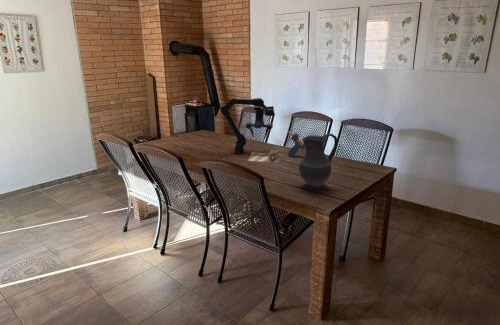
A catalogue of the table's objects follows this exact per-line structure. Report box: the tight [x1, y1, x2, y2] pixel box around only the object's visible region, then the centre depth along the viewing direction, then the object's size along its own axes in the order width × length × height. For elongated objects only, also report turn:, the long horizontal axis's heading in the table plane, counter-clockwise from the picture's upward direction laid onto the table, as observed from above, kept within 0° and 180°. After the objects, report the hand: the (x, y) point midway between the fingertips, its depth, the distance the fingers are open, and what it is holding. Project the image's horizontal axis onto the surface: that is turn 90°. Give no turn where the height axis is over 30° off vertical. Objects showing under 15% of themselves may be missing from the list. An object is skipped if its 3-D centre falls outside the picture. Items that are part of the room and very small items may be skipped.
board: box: [247, 152, 281, 164], centre depth 239 cm, size 21×14×4 cm, turn 78°
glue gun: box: [287, 130, 306, 158], centre depth 246 cm, size 6×31×15 cm
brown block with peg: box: [269, 149, 279, 160], centre depth 237 cm, size 4×10×5 cm, turn 168°
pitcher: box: [298, 132, 339, 191], centre depth 187 cm, size 17×21×30 cm
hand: (259, 137), depth 249 cm, fingers open, 9 cm apart
